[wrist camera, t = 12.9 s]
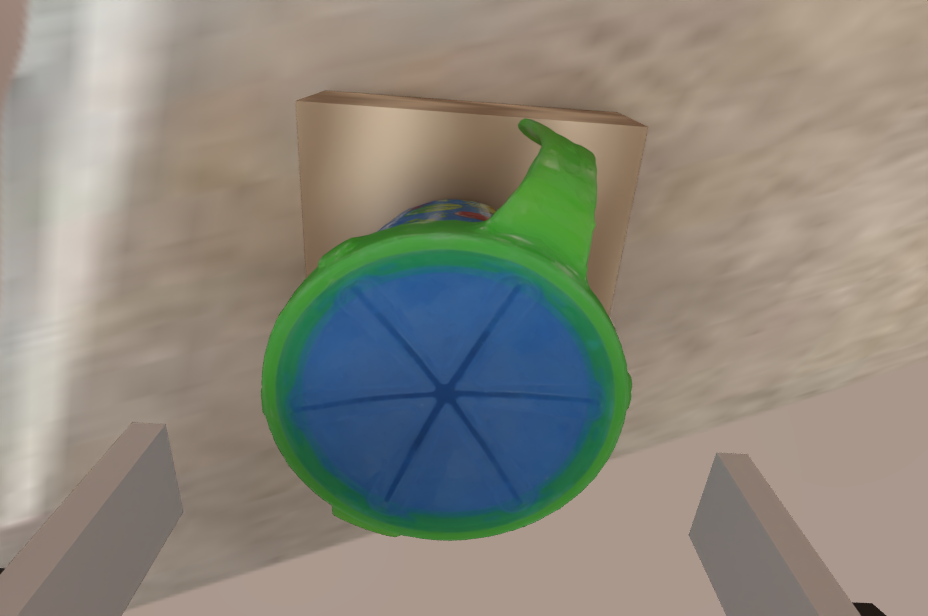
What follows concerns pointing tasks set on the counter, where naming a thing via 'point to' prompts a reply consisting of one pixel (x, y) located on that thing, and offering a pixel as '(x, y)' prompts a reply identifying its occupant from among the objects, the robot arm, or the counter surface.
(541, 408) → the snack cup
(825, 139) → the counter surface
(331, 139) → the maple block
